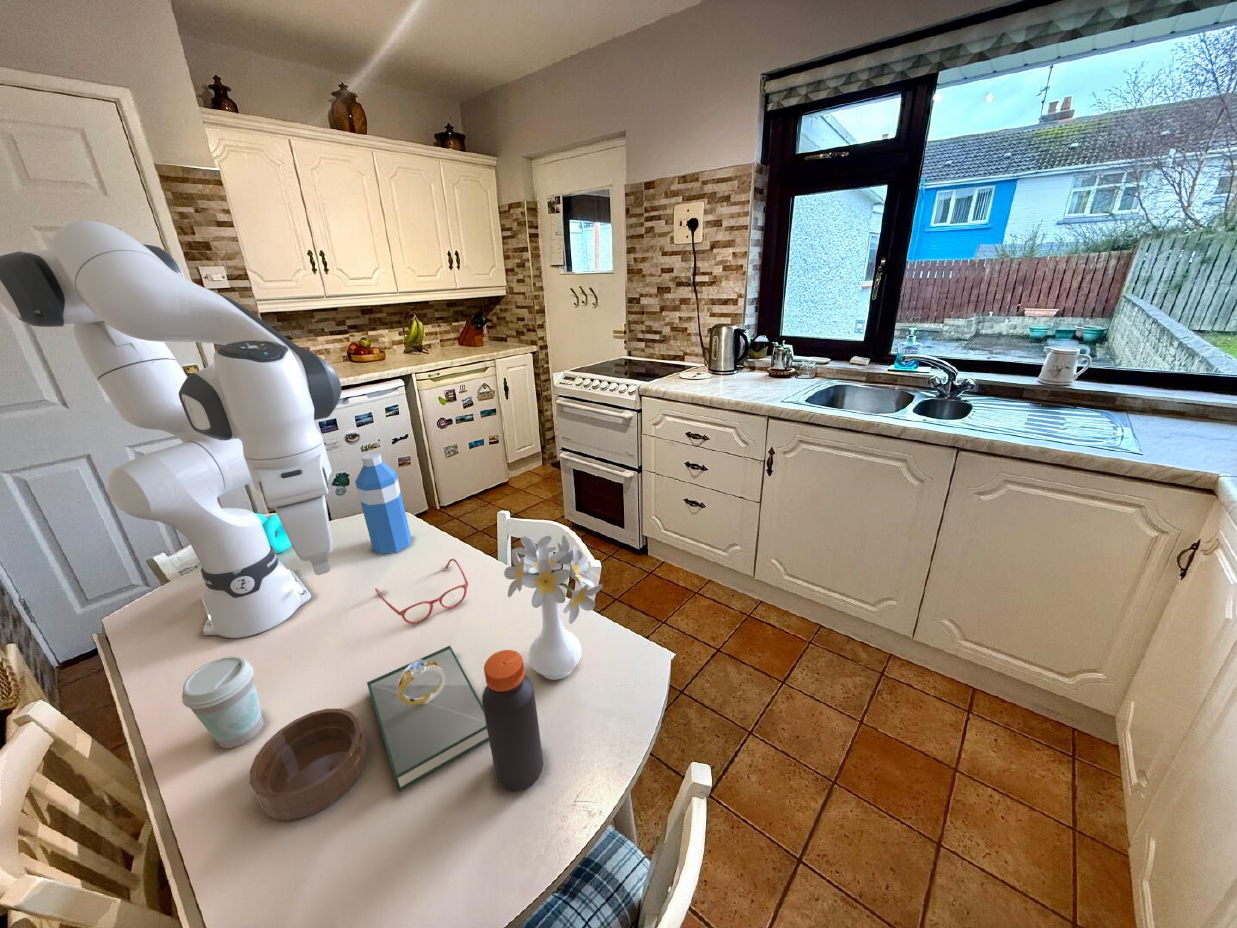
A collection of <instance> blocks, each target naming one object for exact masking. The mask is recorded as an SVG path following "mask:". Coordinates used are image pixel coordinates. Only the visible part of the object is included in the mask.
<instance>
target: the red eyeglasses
mask: <svg viewBox="0 0 1237 928" xmlns="http://www.w3.org/2000/svg"><path fill="white" fill-rule="evenodd" d="M451 562H454V563H455V565H457V567H458V569H459V570H460V573H461V575H462V577H463V579H464V584H460V585H457V586H455V587H452V588H450V589H448V590H447V591H445V592H444V593H442V594H441V595H440V596H439V597H437V598H435V599H431V600H424V601H420V602H416V603H414V604H412V605H410V606H408V607H405V608H404V609H402V610H399V609H397V608H396V607H395V606H393V605H392V604H391V603H389V601H387V600H386V599H385V598H384V597H383V593H382V592H381V591H380V590H379V589H378V588H377V587H376V588H374V590H375V592H376V594H377V595H378V597H379V598H380V599H381V600H382V601H383V602H384V603H385V604H386V605H387V606H388V607H389V608H390V609H391V610H392V611H393V612H395V613H396V614H397V615H398V616H401V617H402V619H403V621H404V622H406V623H407V624H411V625H417V624H420V623H422V622H425V621H426V620H427V619H428V618H429V617H430V616H431V614H432V612H433V610H434V604H436V603H439V604H440V606H441V607H443V608H444V609H449V610H450V609H454V608H456V607H457V606H458V607H459V605H460V604H461V603H462V602H464V600H465V598H466V597H467V596H466V595H467V592H468V586H469V581H468V579H467V577H466V575H465V572H464V571H463V569H462V567H461V566H460V564H459V562H458V561H457V560H456V559H455V558H451V559H449V560H448V562H447V563H446V565H445V570H448V569H449V566H450V563H451ZM460 588H463V591H464V592H463V595H462V597H461V598H460V600H459V601H458V602H457V603H456V604H454V605H450V606H447V605H445V604H443V598H444V597H445V596H446V595H447V594H449V593H450V592H453V591H455V590H457V589H460ZM423 604H428V605H429V611H428V613H427V614H426V615H425V616H424V618H422V619H420V620H418V621H410V620H408V619H407V618H406V616H405V615H406V613H407V611H409V610H410V609H412V608H414V607H416V606H420V605H423Z"/></svg>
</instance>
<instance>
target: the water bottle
mask: <svg viewBox="0 0 1237 928" xmlns="http://www.w3.org/2000/svg"><path fill="white" fill-rule="evenodd" d="M361 461H362V465H363V466H362V467H361V469H360V471H359V474H358V475H357V476H356V477H357V478H355V481H354V482H355V487H356V490H357V494H358V498H359V502H360V505H361V509H362V512H363V516H364V520H365V524H366V528H367V531H368V535H369V539H370V543H371V547H372V550H373V551H374V552H376V553H378V554H380V555H387V554H388V555H389V554H394V553H398V552H400V551H402V550H403V549H405V548H407V547H409V546H410V545H411V541H412V535H411V532H410V527H409V523H408V517H407V514H406V510H405V505H404V501H403V496H402V491H401V487H400V483H399V482H400V481H399V479H398V473H397V470H394V469H393V468H392V467H390V466H389V465H388V464H386V463H385V462H384V461H383V460H382V456H381V453H379V452H369V453H366V454H363V455H362V456H361Z"/></svg>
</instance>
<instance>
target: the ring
mask: <svg viewBox="0 0 1237 928" xmlns="http://www.w3.org/2000/svg"><path fill="white" fill-rule="evenodd" d="M410 663H411V664H410ZM410 663H409V664H410V665H409V666H408V667H407V668H406V669H405V670H404V672H403V673H402V674H401V676H400V678H399V681H398V695H399V698H400V700H401V701H402V702H403V703H405V704H409V705H418V704H423V703H424V704H427V703H428V702H429V701H430V700H432V699H433V698H435V697H436V696H437V695H438V694H439V693H440V692H441V691H442V689H443V687H444V685H445V681H446V678H445V673H444V670H443V668H442V667H441V666H440V665H439V664H438V663H436V662H432V661H427V660H425V661H423V660H421V658H419V659H416V660H414V661H412V662H410ZM430 670H435V671H437V672H438V673H439V674H440V682H439V685H438V686H437V688H436V689H435V690H434V691H433V692H432V693H430V694H425V695H423V696H422V697H421V698H409V697H407V696H405V695H404V694H403V693H404V690H405V688H406V687H407V685H408V684H409V683H410V682H411V681H412V680H413V679H414V678H415V677H416V676H419V675H421V674H423V673H425V672H427V671H430ZM410 674H411V676H410V677H408V678H407V679H406V680H404V679H405V678H406V676H407V675H410Z"/></svg>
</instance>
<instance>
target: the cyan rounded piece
mask: <svg viewBox="0 0 1237 928" xmlns="http://www.w3.org/2000/svg"><path fill="white" fill-rule="evenodd" d="M254 513H255V514H256V515H257V516H258V517H259V518H260V520H261V523H262V526H263V528H264V531H265V534H266V537H267V540H268V542H269V545H271V546H272V547H273V549H274V550H275V552H276V554H281V553H284V552H285V551H287V550H288V549H290V547H291V546H292V545H291V543H290V540H289V538H288V536H287V534H286V532H285V530H284V528H283V526H282V524H281V522H280V520H279V517H278V515H277V513H276V514H273V515H270V516H269V517H266V516H265V515H264V514H262V513H259V512H254Z"/></svg>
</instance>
